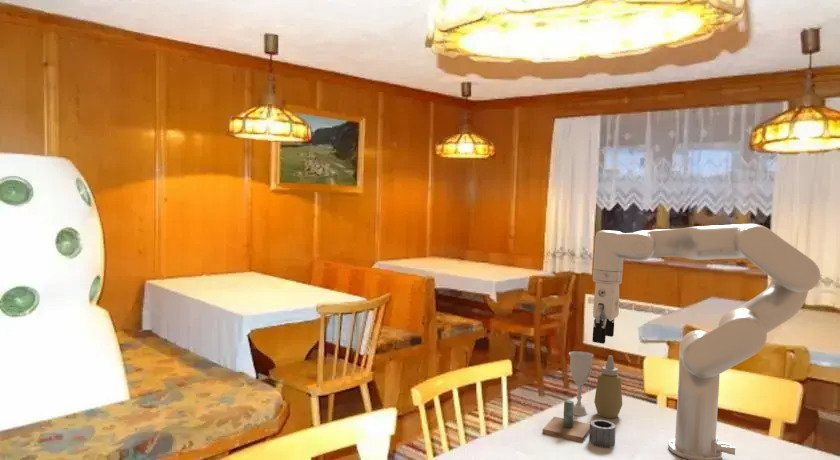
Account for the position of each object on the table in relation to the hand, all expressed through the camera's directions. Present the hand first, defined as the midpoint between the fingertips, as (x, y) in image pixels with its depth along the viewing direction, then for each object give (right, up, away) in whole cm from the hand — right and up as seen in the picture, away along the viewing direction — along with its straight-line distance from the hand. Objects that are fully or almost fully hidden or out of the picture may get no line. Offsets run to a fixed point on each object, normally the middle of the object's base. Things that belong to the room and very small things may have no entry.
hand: (603, 339), depth 163 cm
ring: (-1, -27, -2) cm, 27 cm away
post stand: (-8, -27, +5) cm, 28 cm away
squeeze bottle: (+7, -26, +18) cm, 33 cm away
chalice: (-2, -26, +19) cm, 33 cm away
